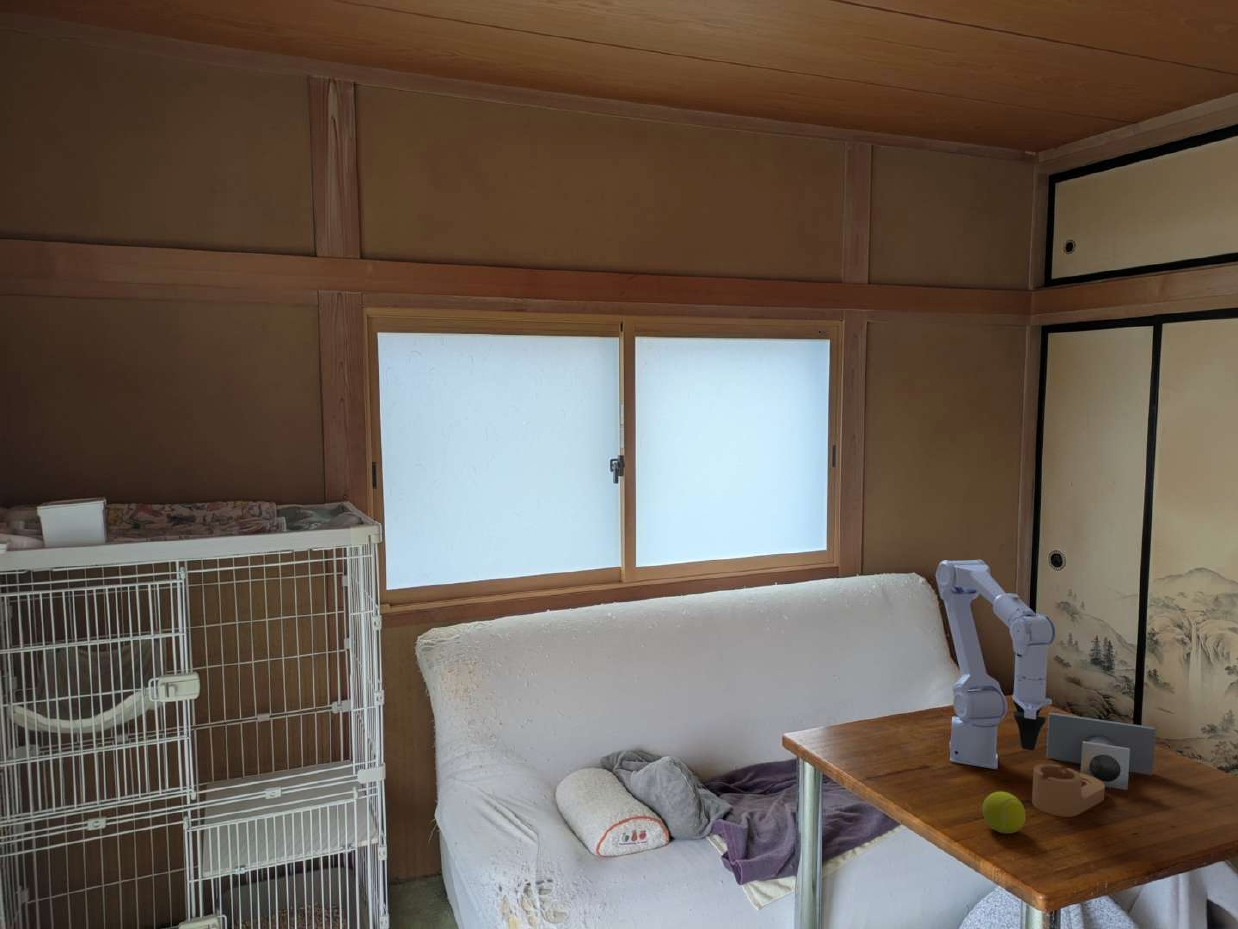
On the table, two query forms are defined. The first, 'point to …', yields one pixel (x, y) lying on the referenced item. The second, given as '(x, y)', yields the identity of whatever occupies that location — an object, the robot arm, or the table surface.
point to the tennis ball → (1003, 812)
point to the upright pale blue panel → (1101, 747)
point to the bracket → (1064, 790)
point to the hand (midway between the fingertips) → (1027, 742)
